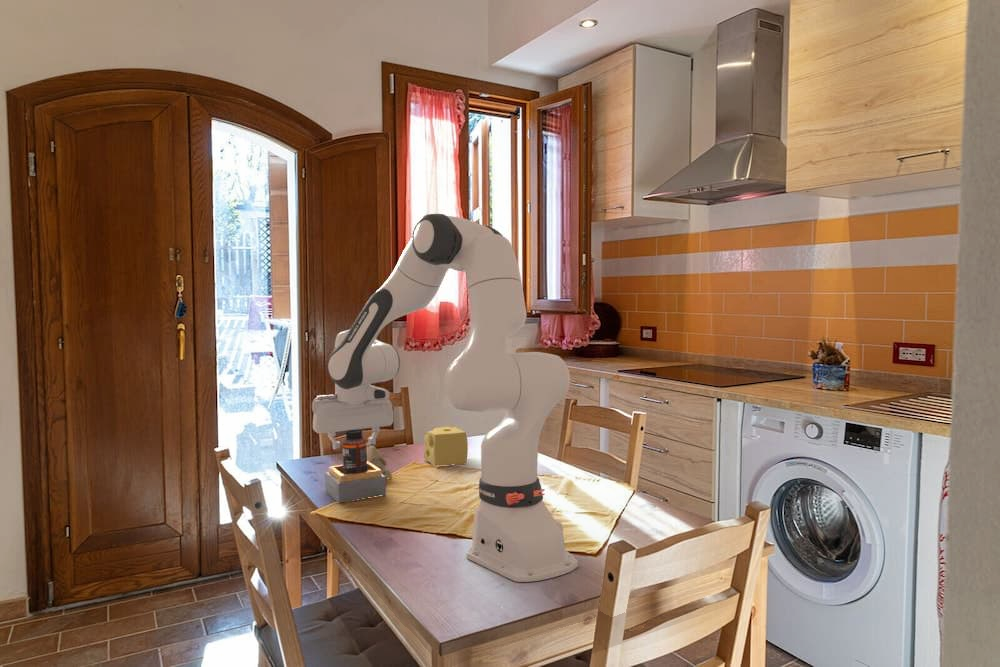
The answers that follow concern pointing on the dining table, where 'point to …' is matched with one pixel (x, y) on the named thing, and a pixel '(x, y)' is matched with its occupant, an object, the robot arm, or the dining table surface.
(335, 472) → the grey wooden-rimmed box
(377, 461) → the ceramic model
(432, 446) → the cheese
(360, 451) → the supplement bottle
